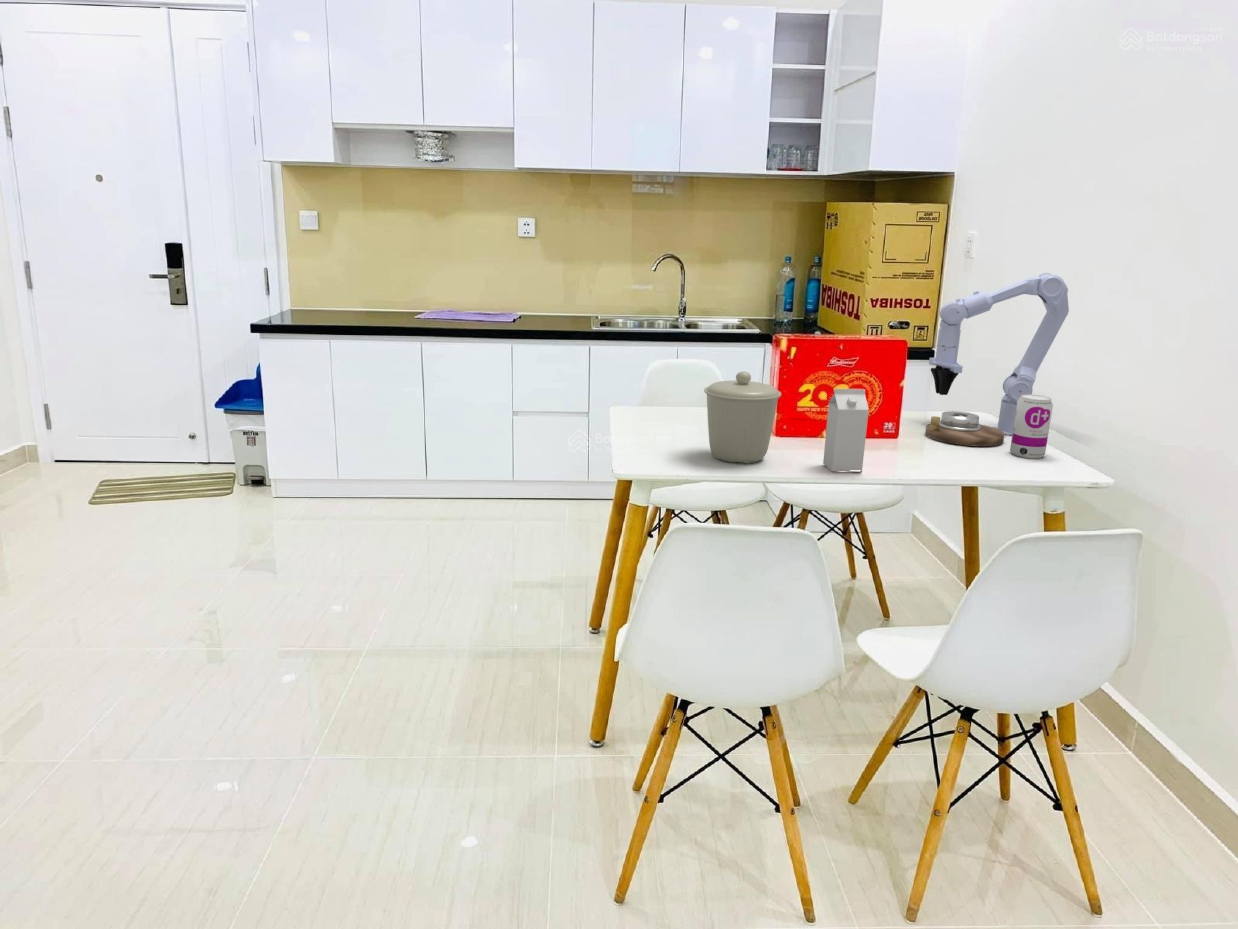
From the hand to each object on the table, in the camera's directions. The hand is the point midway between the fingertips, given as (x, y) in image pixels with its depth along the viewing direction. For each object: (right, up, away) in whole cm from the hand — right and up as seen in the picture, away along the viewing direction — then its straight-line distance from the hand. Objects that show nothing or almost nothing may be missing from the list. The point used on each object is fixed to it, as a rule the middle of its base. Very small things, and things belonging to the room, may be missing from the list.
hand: (941, 393), depth 258 cm
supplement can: (+12, -18, -26) cm, 34 cm away
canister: (-63, -19, -38) cm, 76 cm away
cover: (+2, -10, -9) cm, 13 cm away
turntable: (+2, -13, -11) cm, 17 cm away
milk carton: (-39, -21, -45) cm, 63 cm away
